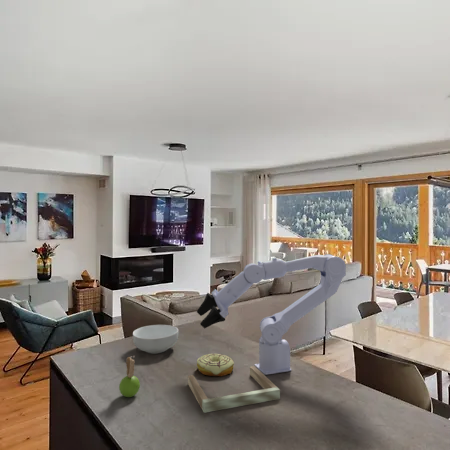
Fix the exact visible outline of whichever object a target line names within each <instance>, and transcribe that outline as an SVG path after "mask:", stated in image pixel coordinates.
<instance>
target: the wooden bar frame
mask: <svg viewBox="0 0 450 450" xmlns="http://www.w3.org/2000/svg"><path fill="white" fill-rule="evenodd" d="M249 375H250V377H252V379H253V380H254V381H255V382H256V383H257V384H259V386H260V387H262V389H258V390H252V391H247V392H242V393H241V392H240V393H234V394H229V395H224V396H223V395H222V396H216V397H212V398H208V396H207V395H206V393H205V392H204V390H203V388H202V387H201V385H200V384H199V382H198V380H197V379H196V378H195V375H193V374H190V375H188V376H187V384H188V387H189V389H190V390H191V392H192V394H193V396H194V398H195V400H196V401H197V403H198V405H199V406H200V408H201V410H202V412H203V413H209V412H214V411H220V410H226V409H227V410H228V409H232V408H237V407H243V406H247V405H248V406H249V405H253V404H258V403H259V404H260V403H265V402H268V401H269V402H270V401H275V400H281V389H280V388H279V387H278V386H277V385H276V384H275V383H273V382H272V381H271V380H270V378H268V377H267V376H266V375H264V374H263V373H262V372H261V371H260V370H259V369H258V368H257V367H255V366H254V365H253V366H249Z"/></svg>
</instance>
